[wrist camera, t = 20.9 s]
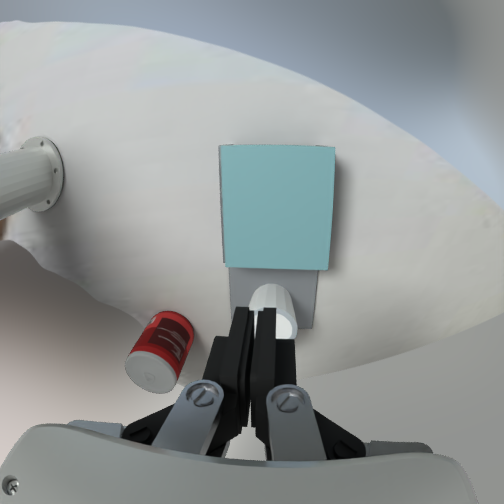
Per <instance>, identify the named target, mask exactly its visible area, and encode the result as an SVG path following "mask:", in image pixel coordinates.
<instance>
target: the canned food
mask: <svg viewBox="0 0 504 504" xmlns="http://www.w3.org/2000/svg"><path fill="white" fill-rule="evenodd" d="M193 338H194V334H193V328H192V326H191V324H190V322H189V321H188V320H187V319H186V318H185V317H184V316H182V315H181V314H179V313H176V312H173V311H163V312H160V313H158V314H157V315H155V316H154V317H153V318H152V319H151V321H150V322H149V324H148V325H147V327H146V328H145V330H144V332H143V333H142V335H141V336H140V338H139V339H138V341H137V342H136V344H135V346H134V347H133V349H132V350H131V352H130V354H129V355H128V357H127V360H126V362H125V369H126V372H127V374H128V376H129V377H130V379H131V380H132V381H133V382H134V383H135V384H137V385H138V386H139V387H141V388H142V389H144V390H147V391H149V392H152V393H159V394H162V393H167V392H170V391H171V390H172V389H173V388H174V386H175V385H176V382H177V380H178V378H179V375H180V373H181V370H182V367H183V365H184V362H185V360H186V357H187V355H188V352H189V350H190V347H191V345H192V342H193Z"/></svg>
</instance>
